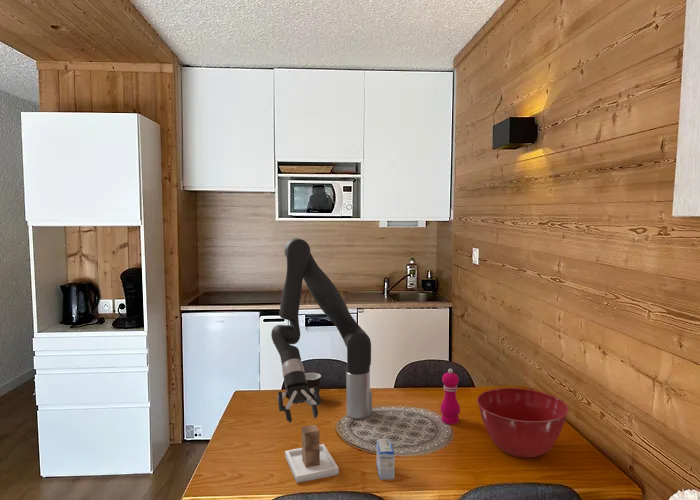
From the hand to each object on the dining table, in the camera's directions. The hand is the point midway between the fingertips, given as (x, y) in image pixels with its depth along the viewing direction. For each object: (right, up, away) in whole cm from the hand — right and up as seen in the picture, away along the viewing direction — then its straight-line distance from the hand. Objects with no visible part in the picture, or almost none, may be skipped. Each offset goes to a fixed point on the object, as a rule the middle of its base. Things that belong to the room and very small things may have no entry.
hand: (303, 419), depth 159 cm
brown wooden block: (+3, -10, -9) cm, 14 cm away
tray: (+3, -11, -9) cm, 15 cm away
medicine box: (+26, -11, -14) cm, 32 cm away
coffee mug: (-1, -7, +45) cm, 45 cm away
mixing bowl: (+72, -10, 0) cm, 73 cm away
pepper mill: (+53, -8, +21) cm, 58 cm away
